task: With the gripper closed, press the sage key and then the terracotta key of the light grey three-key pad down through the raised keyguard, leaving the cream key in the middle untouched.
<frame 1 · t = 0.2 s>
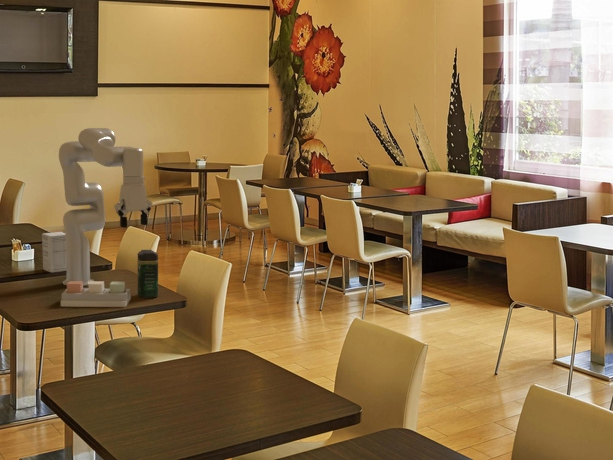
hand: (134, 226, 312), 30 cm above the table, tool pointing down, fingers open, 9 cm apart
supplement box: (56, 270, 377), on the table
cream key: (96, 287, 315), point 6 cm above the table, slide at 0.0 cm
sage key: (117, 287, 316), point 6 cm above the table, slide at 0.0 cm
keypad: (96, 302, 316), on the table
coffee jar: (148, 296, 329), on the table
terracotta key: (75, 287, 315), point 6 cm above the table, slide at 0.0 cm
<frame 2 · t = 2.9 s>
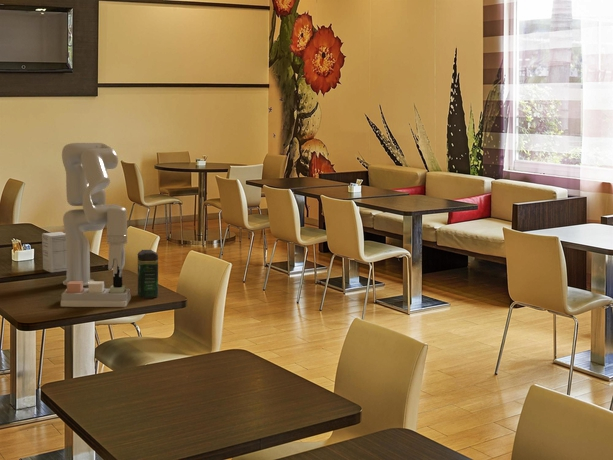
hand: (117, 286, 316), 6 cm above the table, tool pointing down, fingers closed
sage key: (117, 291, 316), point 5 cm above the table, slide at 1.5 cm, touching gripper
everything else where it was.
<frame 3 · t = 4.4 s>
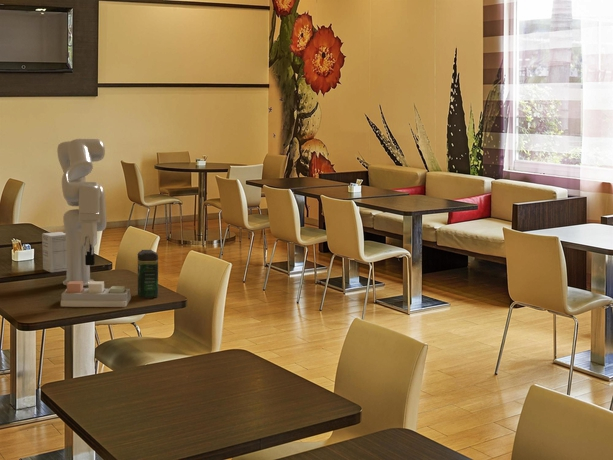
hand: (90, 264, 314), 15 cm above the table, tool pointing down, fingers closed
sage key: (117, 291, 316), point 4 cm above the table, slide at 1.7 cm
everything else where it was.
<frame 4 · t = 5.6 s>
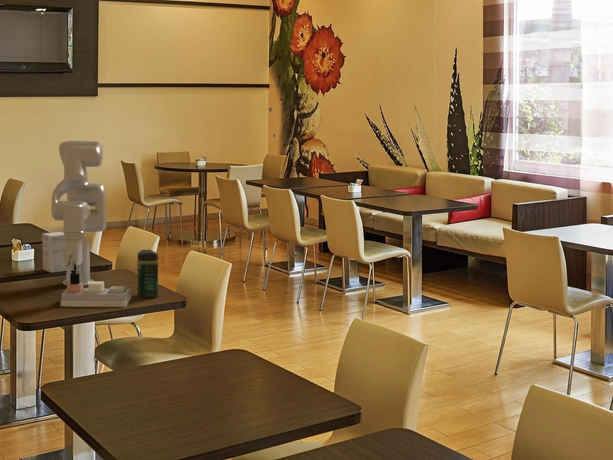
hand: (75, 283, 314), 7 cm above the table, tool pointing down, fingers closed
terracotta key: (75, 287, 315), point 6 cm above the table, slide at 0.4 cm, touching gripper
everything else where it was.
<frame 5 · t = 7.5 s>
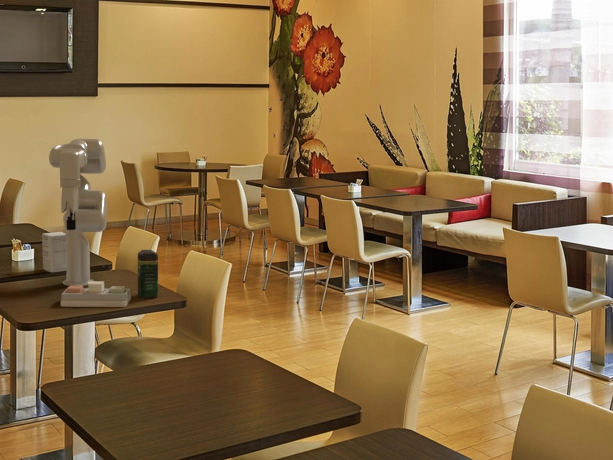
hand: (71, 229, 323), 27 cm above the table, tool pointing down, fingers closed
terracotta key: (75, 291, 315), point 4 cm above the table, slide at 1.8 cm
everything else where it was.
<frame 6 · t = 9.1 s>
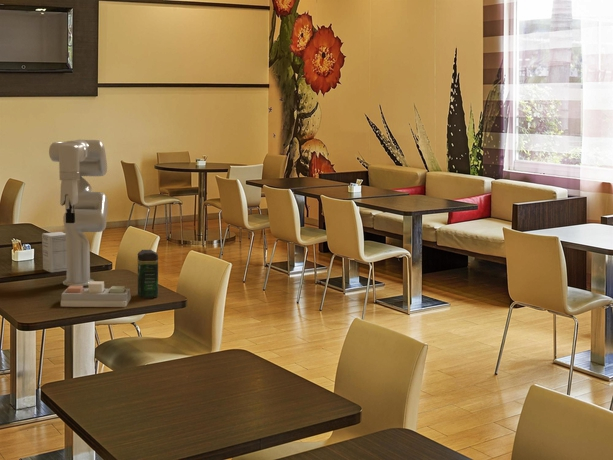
hand: (70, 222, 323), 29 cm above the table, tool pointing down, fingers closed
nothing on the table moved.
at the end: sage key slide at 1.7 cm; terracotta key slide at 1.8 cm; cream key slide at 0.0 cm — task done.
